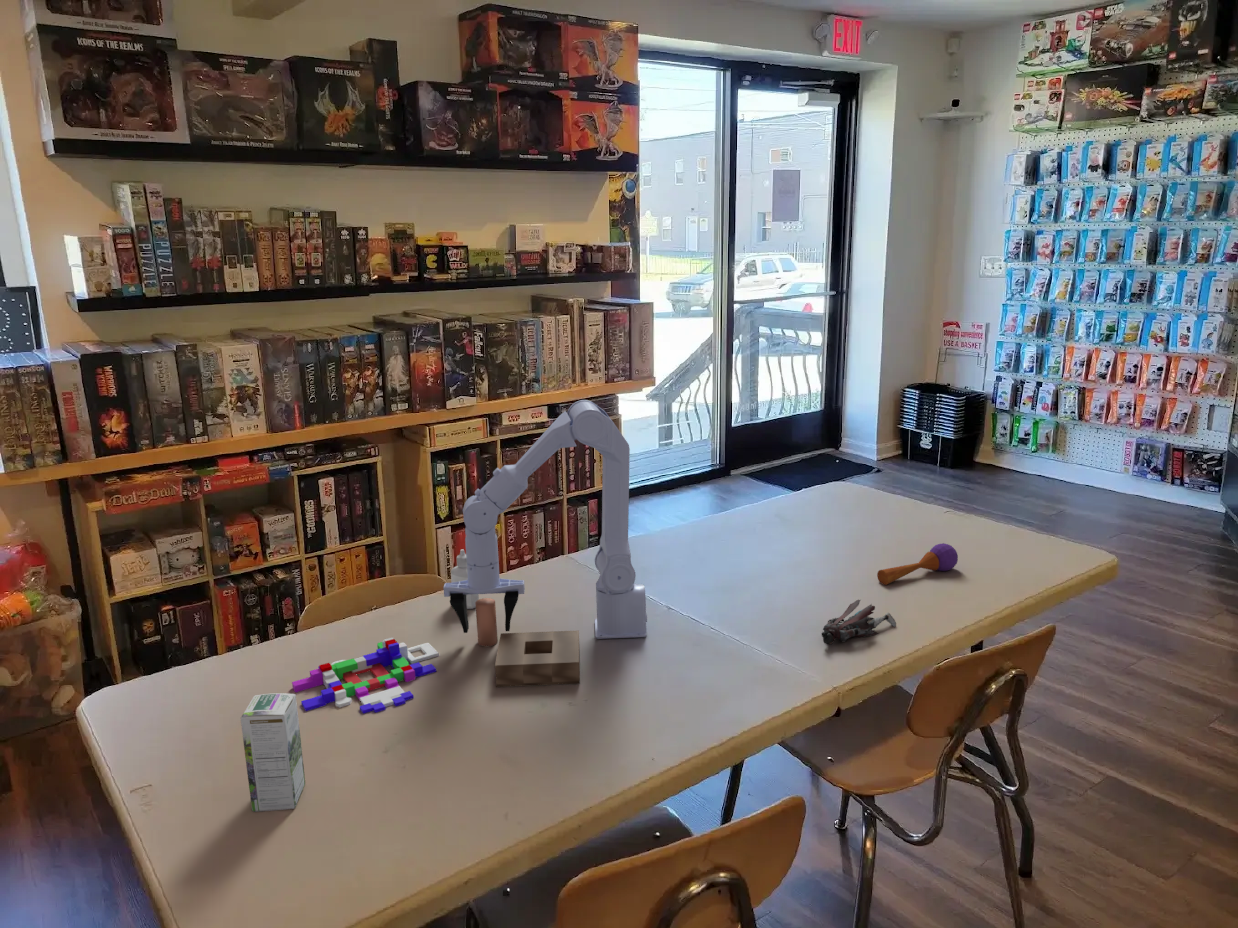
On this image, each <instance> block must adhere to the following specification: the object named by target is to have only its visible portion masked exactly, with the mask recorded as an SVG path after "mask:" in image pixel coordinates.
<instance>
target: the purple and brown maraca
mask: <svg viewBox="0 0 1238 928" xmlns="http://www.w3.org/2000/svg"><path fill="white" fill-rule="evenodd" d="M958 557H959V556H958V552H957V550H956V549H955V548H954V547H953V546H952V545H950V544H949V543H944V542H943V543H938V544H935V545H934V546H932V548H931V549H930V550H929V551H927V552H925V554H924V555H923V557H922V558H920V560H919V561H918V562H916V563H910V564H906V565H900V566H894V567H890V568H884V569H879V570H878V571H877V574H876V575H877V579H878V582H879V583H880V584H882V585H885V586H887V585H889V584H891V583H893V582H895V581H898V580H899V579H901V578H903V577H905V576H908V575H909V574H911V573H913V572H914V571H916V570H919V569H920V568H921V569H924V570H928V571H929V570H930V571H940V572H947V571H951V570H952V569H954V568H955V567H956V565H957V563H958V559H959V558H958Z"/></svg>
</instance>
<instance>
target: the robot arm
mask: <svg viewBox="0 0 1238 928" xmlns="http://www.w3.org/2000/svg"><path fill="white" fill-rule="evenodd" d="M575 440H576V441H578V442H579V443H581V444H583V445H585V446H588V447H591V448H594V449H595V450H596V451H597V452H598V453H599V454H600V455H601V456H602V476H601V477H602V480H601V481H602V487H601V488H602V489H601V490H602V491H601V493H602V494H601V495H602V497H601V501H602V503H601V504H602V505H601V506H602V507H601V509H602V510H601V536H600V539H599V547H598V551H597V552H596V554H595V557H594V564H595V567H596V570H598V572H599V573H598V574H599V577H598V580H597V581H596V583H595V593H596V594H595V597H596V600H595V601H596V618H595V619H594V630H595V631H594V632H595V633H594V635H595V636H594V637H595V639H598V640H601V639H624V638H626V639H629V638H646V637H647V623H648V614H647V603H646V602H647V601H646V599H647V598H646V597H647V596H646V587H645V585H644V584H642V583H641V584H639V583H635V580H636V571H635V568H634V567H633V565H632V560H631V558H632V555H631V549H630V542H629V507H630V502H629V501H630V500H629V499H630V451H631V449H630V444H629V443H628V441H627V439H625V437H624V435H623V434H622V433H621V431H620V430H619V428H618V427H617V425H616V424H615V423H614V421H613V420H612V419H611V417H610V416H609V414H608V413H607V412H606V411H605V410H604V409H603V408H601V407H600V406H599V405H597V404H596V403H595V402H593V401H590V400H588V399H580V400H578V401H575V402H573V403H572V404H571V405H570V407H569V408H568V409H567V411H566V410H565V411H563V412H562V413H561V414H559V416H558V417H557V418H556V419H555V420H554V421H553V422H552V423H551V424H550V425H549V426H548V427H547V428H546V430H545V431H544V432H543V433H542V435H540V437H539V438H538V439H537V440H536V441H535V442H534V443H533V444H532V445H531V446H530V448H529V449H528V450H527V451H526V452H525V453H524V454H523V455H522V456H521V457H520V458H519V459H518V460H517V462H516V463H514V464H504V465H503V466H502V467H501V468H499V467H496V468H495V469H494V470H493V471H492V475H493V476H492V477H491V478H490V479H489V480H488V482H486V484H484V485H483V486H482V487H481V488H480V489H479V488H477V489H475V491H474V495H471V496H470V497H468V498H467V499H466V500H465V502H464V505H463V507H462V514H463V516H462V517H463V523H464V525H465V529H464V534H465V537H464V538H465V539H464V542H465V544H464V545H465V554H466V559H467V573H468V580H464V581H458V582H445V583H444V585H443V587H442V588H443V597H444V598H448V597H449V598H450V599H449V604H450V607H452V609H453V610H454V613H455V614H456V615H457V617H458V619H459V622H460V624H461V627H462V631H463V634H468V632H469V627H470V626H469V617H468V609H467V601H466V595H468V594H478V595H488V594H493V595H494V594H504V597H503V604H504V613H505V614H504V615H505V617H504V618H505V619H504V621H505V622H504V625H505V626H504V627H505V632H510V630H511V621H512V615H513V613H514V610H515V608H516V605H517V604H518V601H519V600H518V599H519V595H524V594H525V580H524V579H521V580H520V579H519V580H518V579H507V578H500V564H499V548H498V535H497V534H496V526H497V523H498V520H499V519H498V517H499V515H500V514H502V513H505V511H506V510H507V509H508V508H509V507H510V506H511V505H512V504H513V503H514V502H515V501H516V500H517V499H518V498H519V497H520V496H521V495H522V494H524V491H526V490H527V489H528V486H529V485H528V484H529V483H528V479H529V477H530V476H531V475H533V473H534V472H536V471H537V469H539V468H540V467H541V466H542V465H544V463H546V462H547V461H548V459H550V458H551V457H552V456H553V455H554V454H555V453H556V452H558V451H559V450H560V449H564V448H565V449H566V448H575V447H577V446H578V445H577V444H576V442H575Z"/></svg>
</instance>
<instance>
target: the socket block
mask: <svg viewBox="0 0 1238 928" xmlns="http://www.w3.org/2000/svg"><path fill="white" fill-rule="evenodd" d="M580 651H581V650H580V630H557V631H553V630H552V631H532V632H529V631H528V632H527V631H526V632H507V633H506V632H505V633H500V636H499V640H498V645H497V653H496V657H495V663H494V664H495V665H494V670H495V671H494V672H495V687H496V688H503V687H504V688H506V687H510V688H511V687H529V686H532V687H533V686H551V685H552V686H555V685H559V686H560V685H577V684H578V685H579V684H581V677H580V676H581V675H580V674H581V673H580V672H581V671H580V669H581V667H580V665H581V663H580V661H581V660H580V659H581V658H580Z"/></svg>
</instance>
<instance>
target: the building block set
mask: <svg viewBox="0 0 1238 928" xmlns="http://www.w3.org/2000/svg"><path fill="white" fill-rule="evenodd" d="M375 650H376V651H375V652H371V653H369V654H365V655H362V656H360V657H357V658H349V659H340V660H336V661H333V662H332V663H330V662H326V663H323V664H322V663H321V664H319V665H318V668H316V669H313V670H309V677H305V678H302V679H298V680H294V681H291V684H292V689H293V691H294V693H298V692H302V691H305V690H309V689H312V688H315V687H320V686H322V685H324V687H325V688H326V689H322V690H320V695H317V696H314V697H311V698H307V699H304V700H301V702H300V703H301V706H302V707H303V709H304V710H305V712H308V711H312V710H314V709H318V708H322V707H324V706H326V705H327V704H330V703H333V702H335V703H334V704H335V705H334V706H335V707H337V708H344V707H347V706H350V705H351V704H352V702H353V699H352V697H353V696H355V697H356V698H357V699H358V700H359V702H360V701H361V702H360V704H361V705H359V710H360V711H361V713H362V714H367V713H370V712H374V713H379V712H382V711H386V707H389V706H392V705H393V706H395V707H399V706H402V705H404V704H406V701H408V700H409V701H410V700H412V699H414V694H413V693H412V692H411V691H410V690H408V691H405V690H404V689H403V688H402V687H401V686H400V685H399V683H398V682H403V681H404V682H406V683H408V682H411V681H414V680H416V678H417V677H418V678H419V677H423V676H427V675H430V674H434V673H436V672H437V668H436V667H435V666H434V665H433V664H432V663H429V664H425V665H422V664H421V663H420V662H422V661H425V660H429V659H433V658H436V657H439V656H440V654H439V652H438V650H436V648H435V647H434V646H432V645H431V643H429V642H425V643H421V644H418V645H415V646H411V647H408V645H407V644H406V643H405V642H398V641H397V640H396V639H395V638H394V637H393V636H392V637H388V638H385V639H383V640H382V641H380V642H377V649H375ZM418 651H422V653H423V654H422V655H419V656H416V657H415V656H414V655H413V654H412V653H414V652H418ZM388 666H390V667H391V668H392V669H391V670H390V673H389V672H388V671H387V669H386V667H388ZM367 671H368V672H371V674H372V675H373V676H374V677H373V678H371V679H367V680H364V681H363V680H362V679H360V677H359V676H358V675H360V674H364V673H367ZM356 674H357V675H356ZM340 680H343V681H344V682H345V683H342V682H341V681H340ZM383 687H385V688H386V689H385V690H382V691H381V690H380V691H378V692H374V693H372V694H370V693H369V692H370V691H373V690H377V689H380V688H383Z"/></svg>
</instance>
